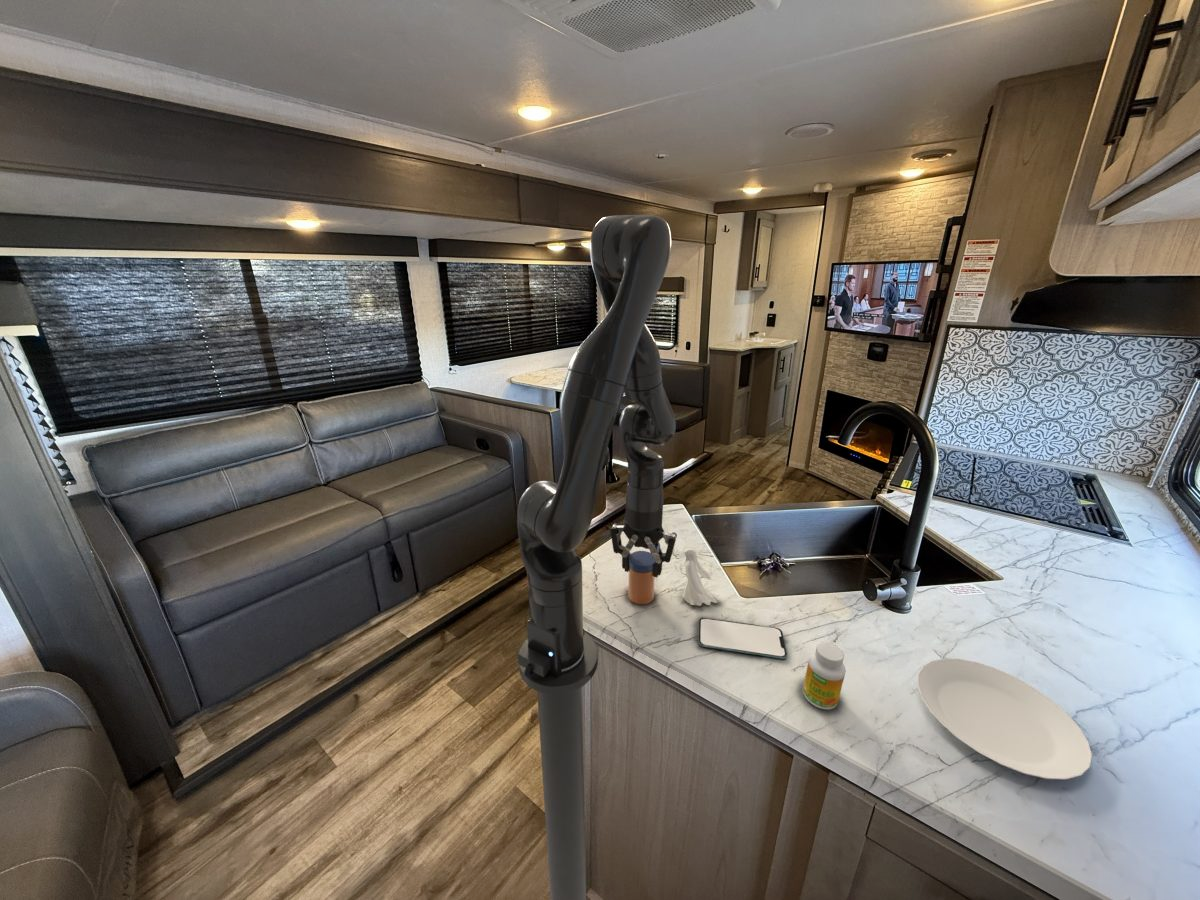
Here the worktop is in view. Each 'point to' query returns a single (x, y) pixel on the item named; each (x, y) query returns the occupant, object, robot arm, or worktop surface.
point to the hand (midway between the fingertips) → (641, 572)
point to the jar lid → (641, 561)
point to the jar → (641, 586)
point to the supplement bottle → (824, 676)
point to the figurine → (695, 581)
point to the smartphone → (742, 638)
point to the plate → (1004, 719)
